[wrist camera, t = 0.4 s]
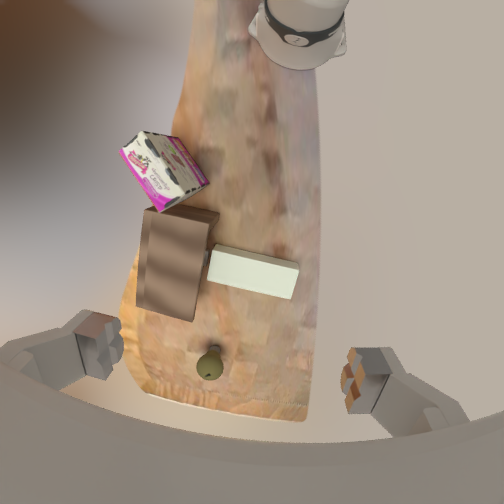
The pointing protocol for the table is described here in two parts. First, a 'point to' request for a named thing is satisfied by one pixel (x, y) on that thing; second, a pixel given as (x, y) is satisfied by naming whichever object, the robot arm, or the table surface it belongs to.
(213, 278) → the mint green beam
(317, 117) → the table surface
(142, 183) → the candy bar box
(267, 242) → the table surface
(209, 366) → the light bulb
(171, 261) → the walnut shelf
